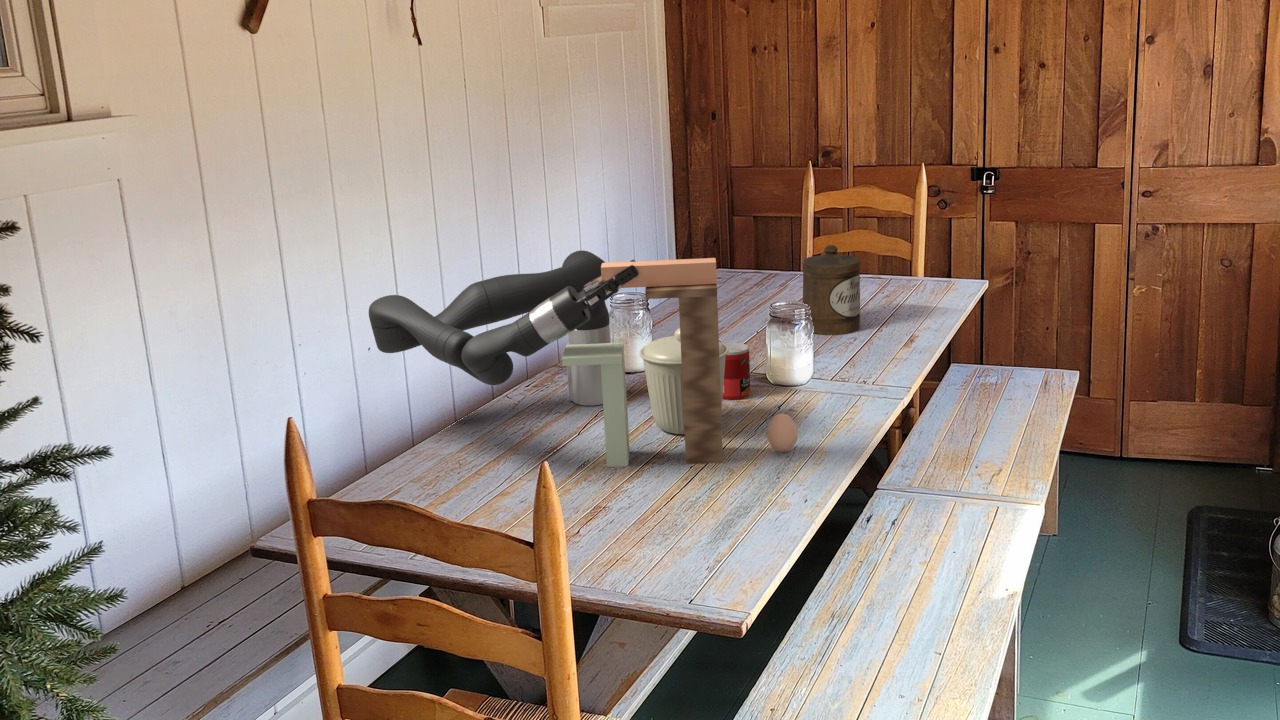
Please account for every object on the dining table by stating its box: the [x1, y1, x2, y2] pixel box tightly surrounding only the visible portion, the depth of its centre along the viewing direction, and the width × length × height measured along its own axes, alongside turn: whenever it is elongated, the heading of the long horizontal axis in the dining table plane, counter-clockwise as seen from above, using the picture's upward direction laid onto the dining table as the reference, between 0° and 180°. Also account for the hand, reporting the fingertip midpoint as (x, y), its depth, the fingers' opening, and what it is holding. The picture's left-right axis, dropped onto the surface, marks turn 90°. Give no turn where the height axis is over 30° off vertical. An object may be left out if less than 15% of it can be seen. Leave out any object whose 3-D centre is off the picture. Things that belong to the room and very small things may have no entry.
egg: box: [767, 413, 799, 453], centre depth 231 cm, size 6×6×8 cm
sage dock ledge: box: [561, 342, 631, 468], centre depth 230 cm, size 11×9×22 cm
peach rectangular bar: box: [601, 257, 718, 289], centre depth 222 cm, size 21×4×4 cm, turn 88°
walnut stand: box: [644, 283, 724, 465], centre depth 227 cm, size 13×9×34 cm
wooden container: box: [802, 244, 861, 336], centre depth 313 cm, size 15×15×22 cm
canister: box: [638, 327, 729, 435], centre depth 245 cm, size 18×18×21 cm
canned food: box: [722, 342, 751, 401], centre depth 265 cm, size 8×8×11 cm
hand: (636, 266), depth 222 cm, fingers closed on peach rectangular bar, 4 cm apart
